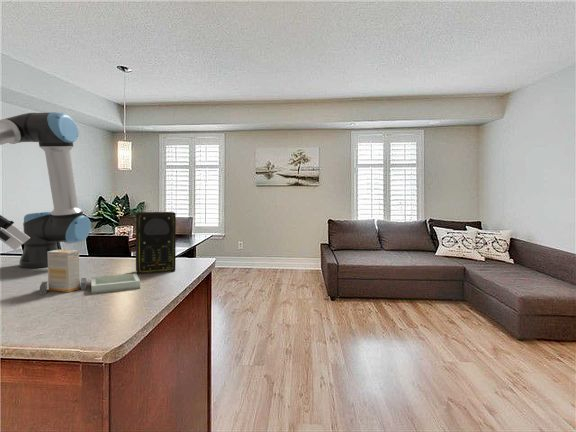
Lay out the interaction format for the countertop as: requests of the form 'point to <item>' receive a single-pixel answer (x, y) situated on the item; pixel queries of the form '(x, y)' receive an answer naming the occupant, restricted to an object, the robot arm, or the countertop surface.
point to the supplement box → (63, 270)
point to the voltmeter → (155, 242)
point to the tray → (114, 283)
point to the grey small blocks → (45, 286)
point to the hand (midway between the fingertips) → (23, 243)
